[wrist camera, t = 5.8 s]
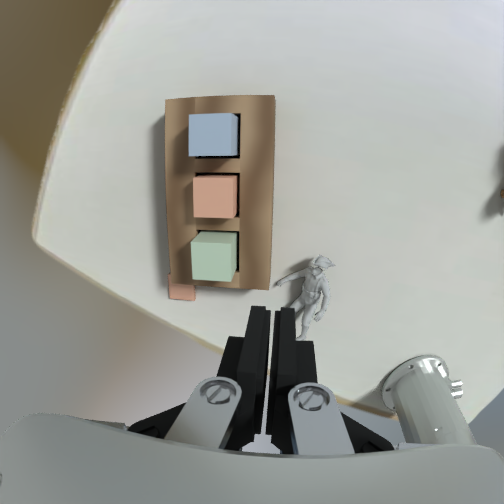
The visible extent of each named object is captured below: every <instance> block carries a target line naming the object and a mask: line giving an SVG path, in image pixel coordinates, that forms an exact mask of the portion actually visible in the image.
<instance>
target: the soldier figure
mask: <svg viewBox="0 0 504 504" xmlns="http://www.w3.org/2000/svg"><path fill="white" fill-rule="evenodd" d="M313 264H314V265H316V266H318V267H316V268H313V267H308V268H306V269H303V270H301V271H297V272H295V273H293V274H291V275H289V276H286V277H285V278H283V279H281V280H279V281H278V282H277V285H278V286H279V285H280V284H281V285H282V284H283V283H285V282H286V281H288V280H289V281H291V280H294V279H298V278H301V277H305V278H306V279H305V281H304V282H303V285H302V293H301V295H300V296H299V297H298V298H297V299H296V300H295V301H294V302H293V304H292V305H291V306H290V307H289V308H295V318H296V312H298V311H299V310H300V309H302V308H303V307H304V306H305V310H304V314H303V317H302V332H301V335H300V336H299V337H297V338H296V340H298V341H302V340H305V339H306V333H307V331H308V328H309V324H310V322H311V319H312V317H313V315H314V312H315V310H316V308H317V304H318V303H319V301H320V295H321V292H320V291H321V290H322V293H323V295H324V297H323V300H322V306H321V310H320V311H319V312H317V313H316V314H317V316H316V317H315V318H314V320H315V321H319V320H320V319H321V318H322V317H323V314H324V312H325V311H326V309H327V306H328V304H329V300H330V297H331V296H330V289H329V281H328V279H327V278H326V276H325V274H323V270H322V269H321V268H319V267H322V268H325V270H326V269H328V267H330V266H335V264H334V263H332V262H331V261H330V260H329V259H328V258H326V257H324V256H322V255H319V256H318V257H317V258H316V259H315V260H314V262H313ZM325 270H324V271H325ZM281 285H280V286H281ZM316 314H315V315H316Z"/></svg>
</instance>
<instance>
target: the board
mask: <svg viewBox="0 0 504 504" xmlns="http://www.w3.org/2000/svg"><path fill="white" fill-rule="evenodd" d="M213 113H232V114H241V131H240V158H207V159H197V156H189V115H192V114H213ZM274 151H275V96H274V95H230V96H206V97H190V98H178V99H167V100H165V182H166V210H167V229H168V245H169V259H170V271H171V283H172V284H184V285H197V286H211V287H226V288H241V289H258V290H269V284H270V274H271V249H272V221H273V189H274ZM197 172H234V173H240V216H234V218H203V217H194V205H193V178H194V177H197ZM198 230H223V231H239V268H236V270H235V273H234V275H233V278H232V280H231V282H226V281H211V280H196V279H193V276H192V258H191V241H192V240H193V239H194V238H195V237H196V236H197V235H198Z"/></svg>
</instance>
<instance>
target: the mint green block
mask: <svg viewBox="0 0 504 504" xmlns="http://www.w3.org/2000/svg"><path fill="white" fill-rule="evenodd" d="M191 258H192V276H193V279H196V280H211V281H226V282H231V280H232V278H233V275H234V273H235V270H236V268H237V265H238V231H223V230H202V231H201V232H200V233H199V234H198V235H197V236H196V237H195V238H194V239H193V240H192V241H191Z"/></svg>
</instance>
